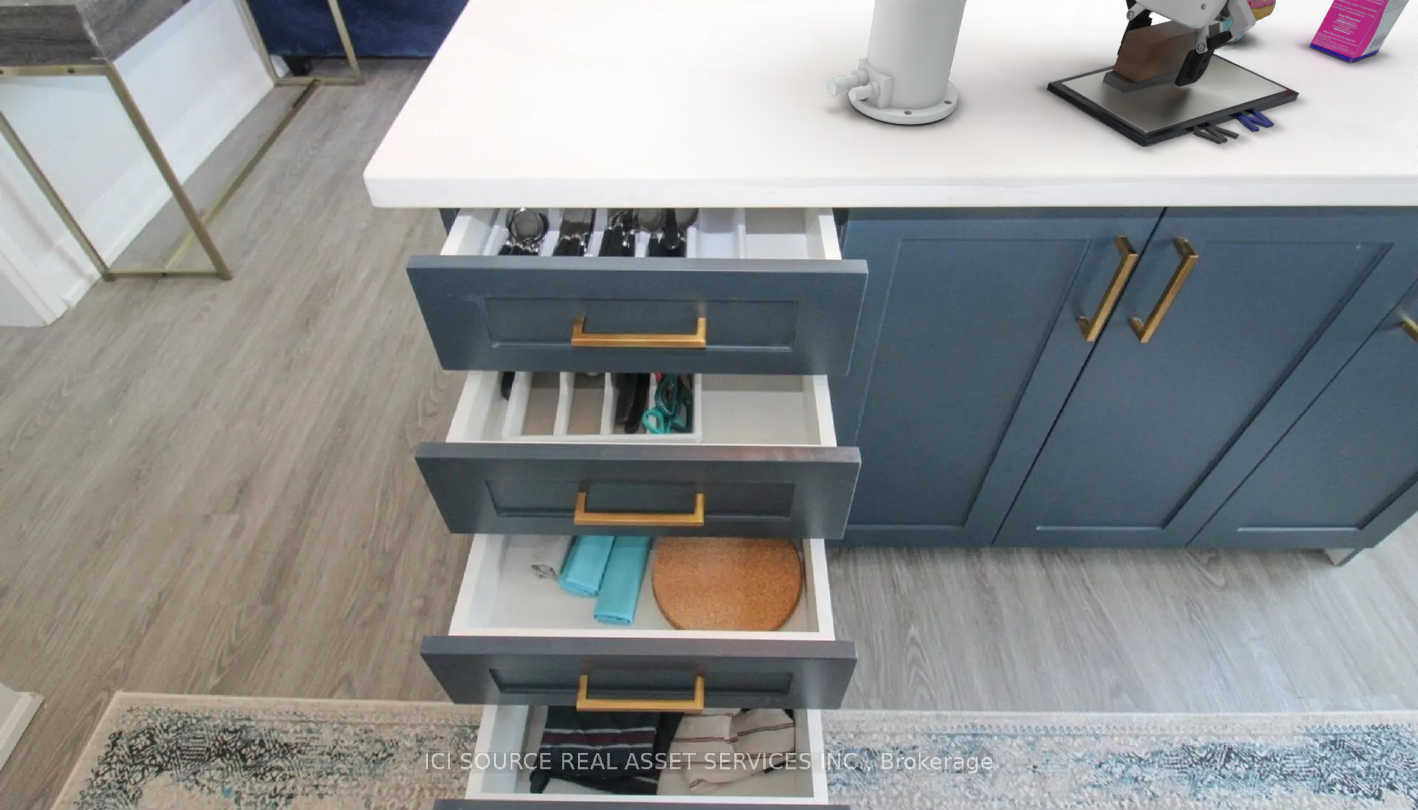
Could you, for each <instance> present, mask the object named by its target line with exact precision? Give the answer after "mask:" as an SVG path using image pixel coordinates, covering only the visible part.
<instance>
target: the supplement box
mask: <svg viewBox="0 0 1418 810" xmlns="http://www.w3.org/2000/svg"><path fill="white" fill-rule="evenodd" d="M1409 2H1410V0H1333V1H1332V3H1331V5H1330V7H1329V9H1328V10H1327V12H1326V14H1325V16H1324V18H1323V19H1322V21H1321V23H1320V25H1319V27H1318V29H1317V30H1316V32H1315V34H1314V36H1313V38H1312V39H1311V41H1310V43H1309V48H1311V49H1313V50H1316V51H1319V52H1322V53H1324V54H1327V55H1329V56H1332V57H1335V58H1337V59H1339V60H1341V61H1344V62H1347V63H1349V64H1351V63H1355V62H1357V61H1359V60H1362V59H1364V58H1367V57H1370V56H1373V55H1376V54H1378V53H1379V51H1380V49H1381V48H1382V46H1383V44H1384V43H1385V41H1386V39H1387V38H1388V36H1389V34H1390V33H1391V31H1392V29H1393V28H1394V26H1395V24H1396V23H1397V21H1398V19H1399V18H1400V17H1401V15H1402V13H1403V11H1404V10H1405V7H1406V6H1407V4H1408V3H1409Z"/></svg>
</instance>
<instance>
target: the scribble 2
mask: <svg viewBox="0 0 1418 810" xmlns="http://www.w3.org/2000/svg"><path fill="white" fill-rule="evenodd" d="M1251 114H1252V115H1253V116H1251V115H1248V114H1247V115H1244V114H1243V115H1242V116H1238V117H1237V118H1236V119H1237V120H1238V121H1239V122H1241V123H1242V124H1243V125H1245V126H1246V127H1247V128H1248V129H1249V130H1250V131H1251V132H1258V131H1259V130H1260V127H1258V126H1257V125H1259V126H1262V127H1264V128H1270V127H1274V125H1275V123H1274V122H1273V121H1272V120H1271V119H1270V118H1269V117H1267V116H1266V115H1265V114H1263V113H1262V112H1261V110H1260V111H1253V112H1252V113H1251Z"/></svg>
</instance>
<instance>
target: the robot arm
mask: <svg viewBox="0 0 1418 810" xmlns="http://www.w3.org/2000/svg"><path fill="white" fill-rule="evenodd" d="M966 4H967V0H874V6H873V12H872V19H871V26H870V33H869V40H868V47H867V55H866V57H865V58H861V59H858V62H857V69H854V70H852V72H851V73H850V74H848V75H840V76H836V77H832V78H829V79H828V81H827V92H828V94H829V95H830V97H838V96H842V95H846V94H848V99H849V101H850V104H851V105H852V106H853V107H854V108H855V109H856V110H857V111H859V112H860V113H862V114H864V115H866V116H868V117H869V118H873V119H875V120H878V121H882V122H886V123H890V124H898V125H921V124H922V125H923V124H928V123H933V122H937V121H940V120H942V119H945V118H947V117H948V116H949V115H951V114H952V113H953V112H954V111H955V109H956V108H957V105H958V101H959V91H958V89H957V88H956V86H955V85H954V83H952V81H950V80H949V79H950V74H951V69H952V66H953V61H954V58H955V53H956V48H957V44H958V38H959V34H960V31H961V26H962V22H963V21H962V20H963V18H964V12H965V8H966ZM1125 4H1126V8H1127V11H1126V13H1125V16H1126V17H1125V18H1126V20H1127V21H1128V22H1127V25H1126V26H1125V27H1126V28H1125V30H1124V33H1123V35H1122V38H1121V40H1120V45H1119V47H1118V50H1117V52H1116V55H1117V56H1118V55H1119V52H1120V50H1121V47H1122V45H1123V42H1124V39H1125V37H1126V34H1127V32H1128V31H1131V30H1135V29H1139V28H1143V27H1147V26H1151V25H1153V24H1152V23H1153V17H1151V15H1152V14H1153V13H1154V14H1157V15H1159V16H1161V17H1163V18H1165V19H1167V20H1169V21H1171V20H1172V21H1174V22H1177V23H1179V24H1181V25H1184V26H1186V27H1189V28H1195V43H1196V49H1193V50H1190V51H1189V52H1188V54H1187V56H1186V58H1185V60H1184V63H1183V65H1182V67H1181V69H1180V71H1179V73H1178V76H1177V78H1176V80H1175V85H1176V86H1178V87H1181V86H1185V85H1188V84H1192V83H1195V82H1197V81H1198V80H1199V79H1200V78H1201V77H1202V75H1203V73H1204V71H1205V69H1206V67H1207V65H1208V63H1209V61H1210V59H1211V57H1212V55H1213V53H1214V54H1215V51H1216V50H1219V49H1221V48H1222V47H1224V46H1226V45H1228V44H1231V43H1230V42H1233V41H1235V40H1236V39H1237V38H1238V37H1239V36H1241V35H1242V34H1244V33H1245V32H1246V33H1247V32H1248V31H1249V30H1251V29H1252V28H1253V27H1255V25H1256V24H1257V22H1256V19H1255V17H1254V15H1253V13H1252V11H1251V9H1250V7H1249V4H1248V2H1247V0H1125ZM1230 17H1232V19H1233V23H1232V25H1231V26H1230V27H1229V28H1228V29H1226V30H1225V31H1224V32H1223V22H1224V21H1227V20H1228V19H1229V18H1230ZM1246 33H1245V34H1246ZM1209 34H1210V38H1209ZM1245 34H1244V35H1245Z"/></svg>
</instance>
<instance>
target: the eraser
mask: <svg viewBox="0 0 1418 810" xmlns="http://www.w3.org/2000/svg"><path fill="white" fill-rule="evenodd" d="M1209 38H1210V34H1209ZM1193 49H1196V43H1195V28H1189V27H1186V26H1184V25H1181V24H1179V23H1177V22H1174V21H1172V20H1167V21H1164V22H1160V23H1156V24H1151V26H1147V27H1143V28H1139V29H1135V30H1131V31H1128V32H1127V34H1126V37H1125V39H1124V42H1123V45H1122V47H1121V50H1120V52H1119V55H1117V58H1116V59H1115V63H1114V65H1113V66H1114V68H1113V71H1110V72H1106V73H1105V76H1104V79H1103V81H1105V82H1106V83H1108V84H1110V85H1112V86H1114V87H1115V88H1117V89H1119V90H1121V91H1123V92H1125V93H1128V92H1131V91H1135V90H1138V89H1142V88H1145V87H1149V86H1152V85H1156V84H1160V83H1163V82H1167V81H1170V80H1174V79H1176V78H1177V76H1178V73H1179V71H1180V69H1181V67H1182V65H1183V63H1184V60H1185V58H1186V56H1187V54H1188V52H1189V51H1190V50H1193ZM1209 63H1210V62H1209ZM1209 63H1208V65H1209ZM1208 65H1207V67H1208ZM1207 67H1206V69H1207ZM1206 69H1205V71H1206Z"/></svg>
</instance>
